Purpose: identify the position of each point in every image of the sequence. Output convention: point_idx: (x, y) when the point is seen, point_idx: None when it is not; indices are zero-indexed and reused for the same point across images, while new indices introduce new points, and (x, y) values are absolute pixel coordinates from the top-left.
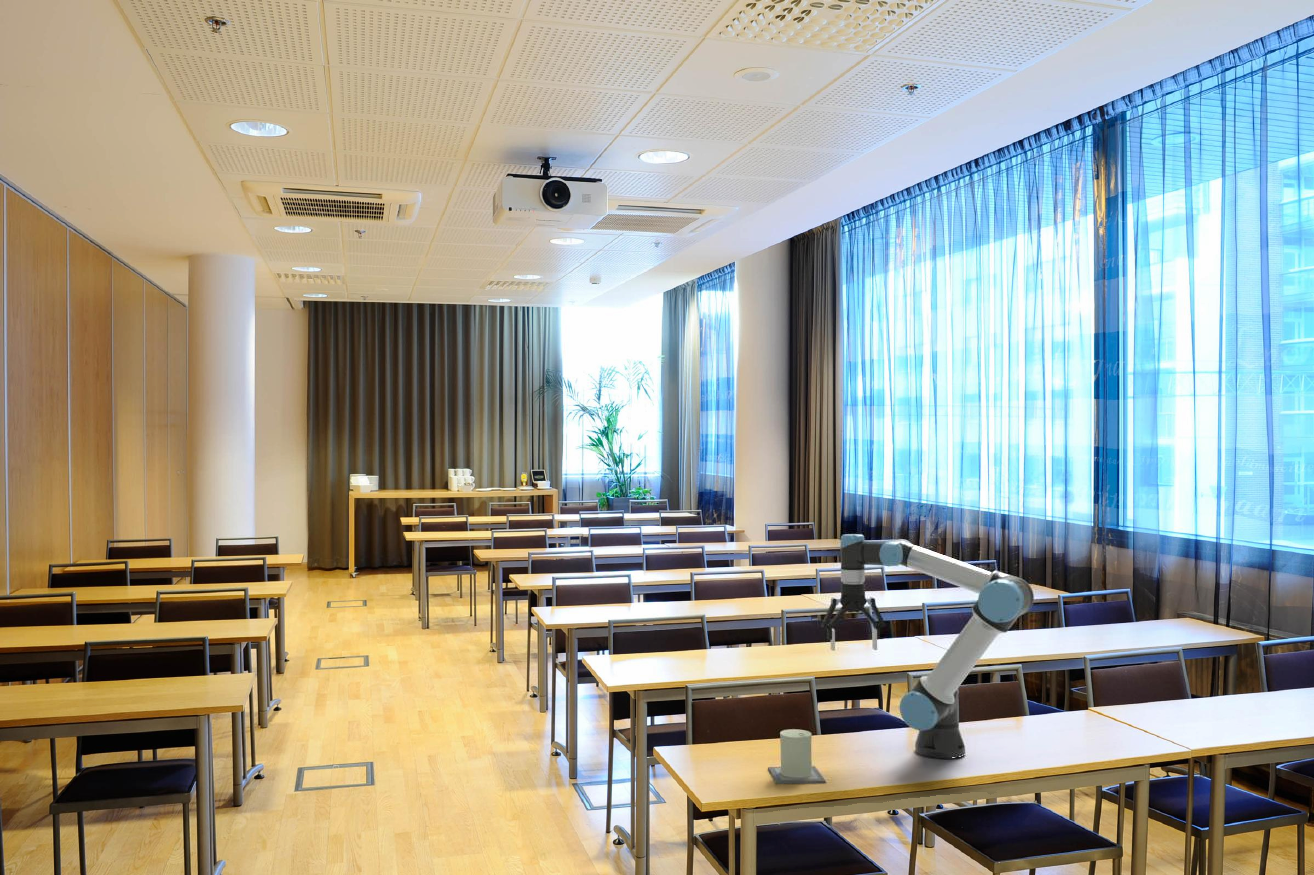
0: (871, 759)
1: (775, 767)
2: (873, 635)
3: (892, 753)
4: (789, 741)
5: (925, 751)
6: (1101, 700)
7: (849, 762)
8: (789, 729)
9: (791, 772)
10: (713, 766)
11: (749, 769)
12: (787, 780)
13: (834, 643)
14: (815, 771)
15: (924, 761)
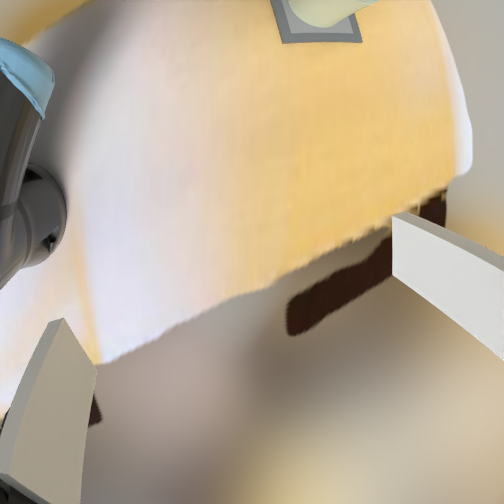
0: (157, 117)
1: (351, 38)
2: (54, 437)
3: (110, 177)
4: None
5: (42, 172)
6: None
7: (208, 86)
8: (370, 2)
9: None
10: (427, 68)
11: (385, 45)
12: None
13: (433, 234)
14: (281, 12)
15: (50, 135)
